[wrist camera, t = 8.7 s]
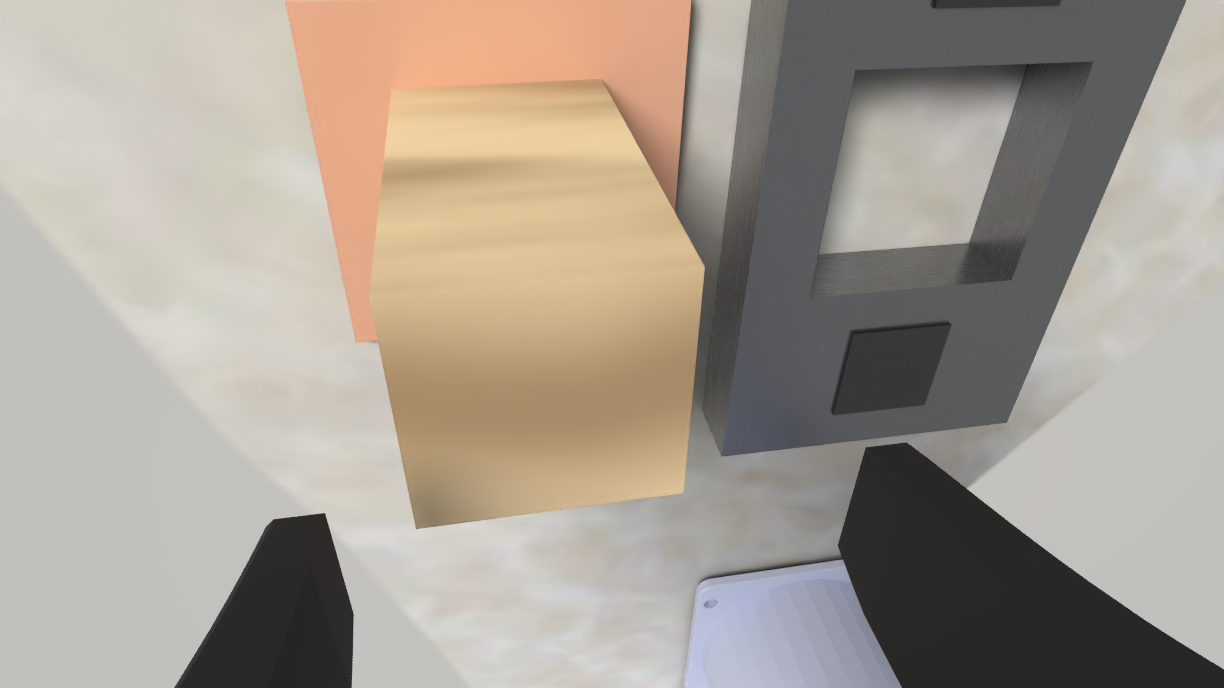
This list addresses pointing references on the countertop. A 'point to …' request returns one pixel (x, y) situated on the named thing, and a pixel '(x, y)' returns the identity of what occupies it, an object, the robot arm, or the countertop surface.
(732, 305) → the square hole bar
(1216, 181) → the countertop surface
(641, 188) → the wooden peg
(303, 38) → the tile
